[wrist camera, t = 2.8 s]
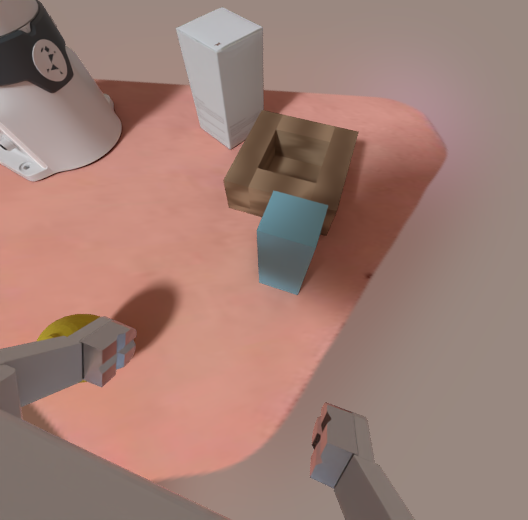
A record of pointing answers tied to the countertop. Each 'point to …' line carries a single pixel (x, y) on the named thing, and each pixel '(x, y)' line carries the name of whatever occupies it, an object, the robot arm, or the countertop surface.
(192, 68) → the supplement box
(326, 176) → the well block
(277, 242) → the blue square pillar
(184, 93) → the countertop surface
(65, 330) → the lemon
